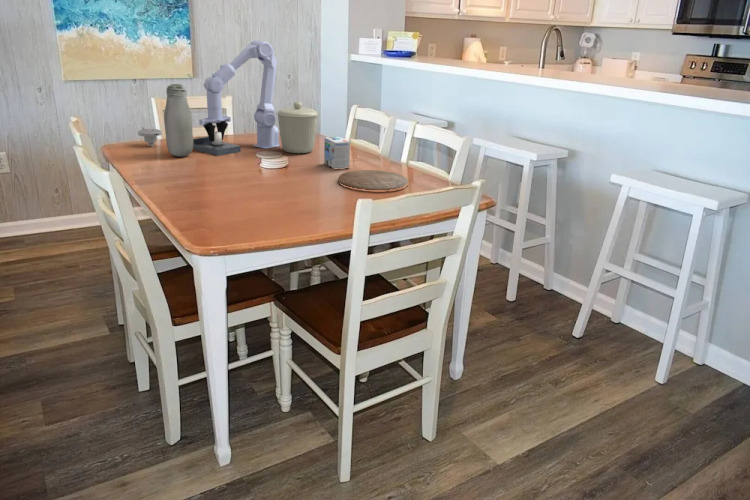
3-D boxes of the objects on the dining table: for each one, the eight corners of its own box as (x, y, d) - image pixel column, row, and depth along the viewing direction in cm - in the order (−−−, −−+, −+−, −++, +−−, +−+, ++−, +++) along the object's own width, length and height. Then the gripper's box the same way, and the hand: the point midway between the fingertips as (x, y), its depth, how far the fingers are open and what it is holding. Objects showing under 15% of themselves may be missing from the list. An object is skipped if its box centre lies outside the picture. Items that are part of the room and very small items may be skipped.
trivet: (329, 176, 214) (329, 171, 213) (392, 173, 222) (392, 168, 222) (351, 195, 192) (351, 190, 192) (419, 191, 201) (419, 186, 200)
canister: (316, 157, 241) (316, 105, 233) (273, 154, 241) (272, 103, 233) (321, 148, 258) (321, 99, 250) (280, 146, 258) (280, 97, 250)
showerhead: (152, 126, 249) (165, 129, 244) (153, 142, 252) (167, 146, 247) (132, 128, 242) (145, 131, 237) (134, 145, 245) (147, 149, 240)
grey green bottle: (178, 160, 225) (172, 86, 214) (162, 155, 230) (156, 83, 220) (199, 156, 232) (194, 84, 222) (183, 152, 238) (178, 82, 227)
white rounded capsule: (217, 142, 245) (216, 131, 243) (224, 144, 243) (223, 132, 241) (210, 144, 242) (209, 132, 240) (216, 145, 240) (216, 133, 238)
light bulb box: (323, 163, 231) (323, 136, 227) (338, 162, 234) (339, 136, 230) (334, 170, 222) (334, 142, 218) (350, 169, 225) (350, 141, 221)
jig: (216, 145, 252) (215, 135, 251) (240, 151, 244) (240, 141, 242) (193, 149, 243) (192, 138, 242) (217, 155, 234) (217, 144, 233)
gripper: (206, 110, 229) (208, 144, 234) (234, 107, 240) (236, 139, 245) (195, 108, 233) (197, 141, 238) (223, 105, 244) (225, 137, 249)
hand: (216, 140), depth 242 cm, fingers closed on white rounded capsule, 4 cm apart
